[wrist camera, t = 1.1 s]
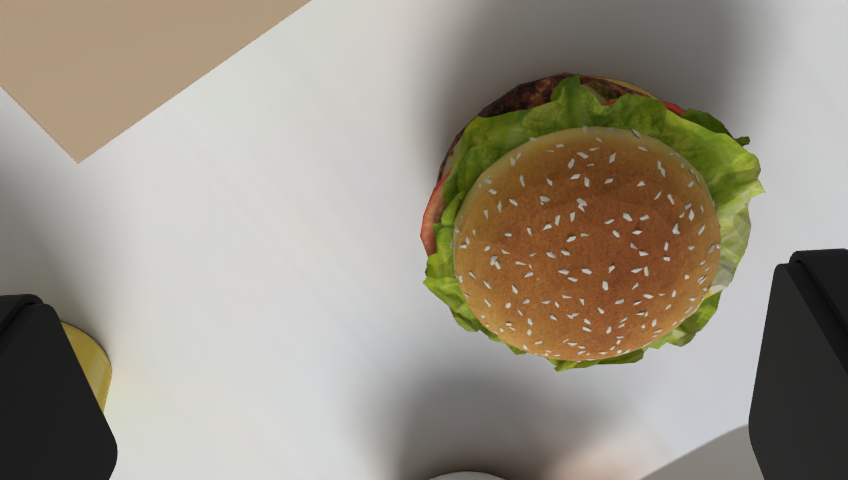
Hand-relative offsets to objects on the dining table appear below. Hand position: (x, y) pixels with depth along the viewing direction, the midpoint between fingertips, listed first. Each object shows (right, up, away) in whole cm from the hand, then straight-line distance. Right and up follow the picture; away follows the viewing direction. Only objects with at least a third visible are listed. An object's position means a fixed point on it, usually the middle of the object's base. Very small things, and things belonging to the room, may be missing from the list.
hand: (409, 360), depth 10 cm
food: (+8, +4, +27) cm, 28 cm away
